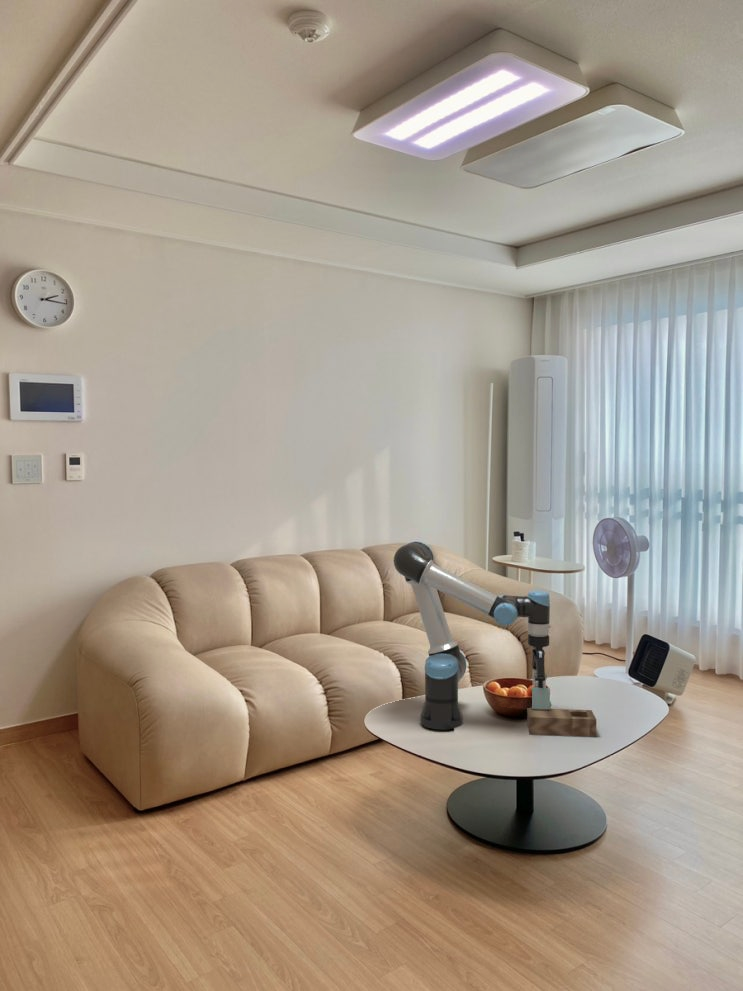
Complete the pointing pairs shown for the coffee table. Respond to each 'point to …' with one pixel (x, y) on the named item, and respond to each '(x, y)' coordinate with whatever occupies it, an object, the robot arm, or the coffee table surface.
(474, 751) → the coffee table surface
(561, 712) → the block
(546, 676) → the grey cylinder
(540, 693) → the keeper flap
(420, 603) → the robot arm
